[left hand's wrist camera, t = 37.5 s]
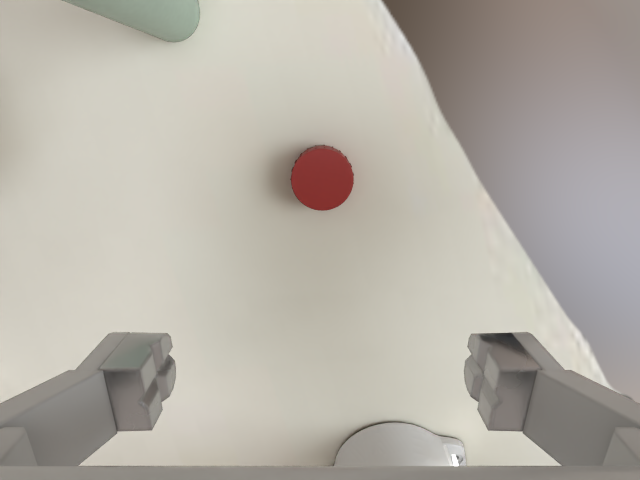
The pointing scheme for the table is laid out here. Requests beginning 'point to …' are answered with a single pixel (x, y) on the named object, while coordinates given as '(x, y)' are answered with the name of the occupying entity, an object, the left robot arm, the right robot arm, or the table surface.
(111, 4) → the jar
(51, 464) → the left robot arm
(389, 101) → the table surface
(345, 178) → the lid
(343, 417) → the table surface
